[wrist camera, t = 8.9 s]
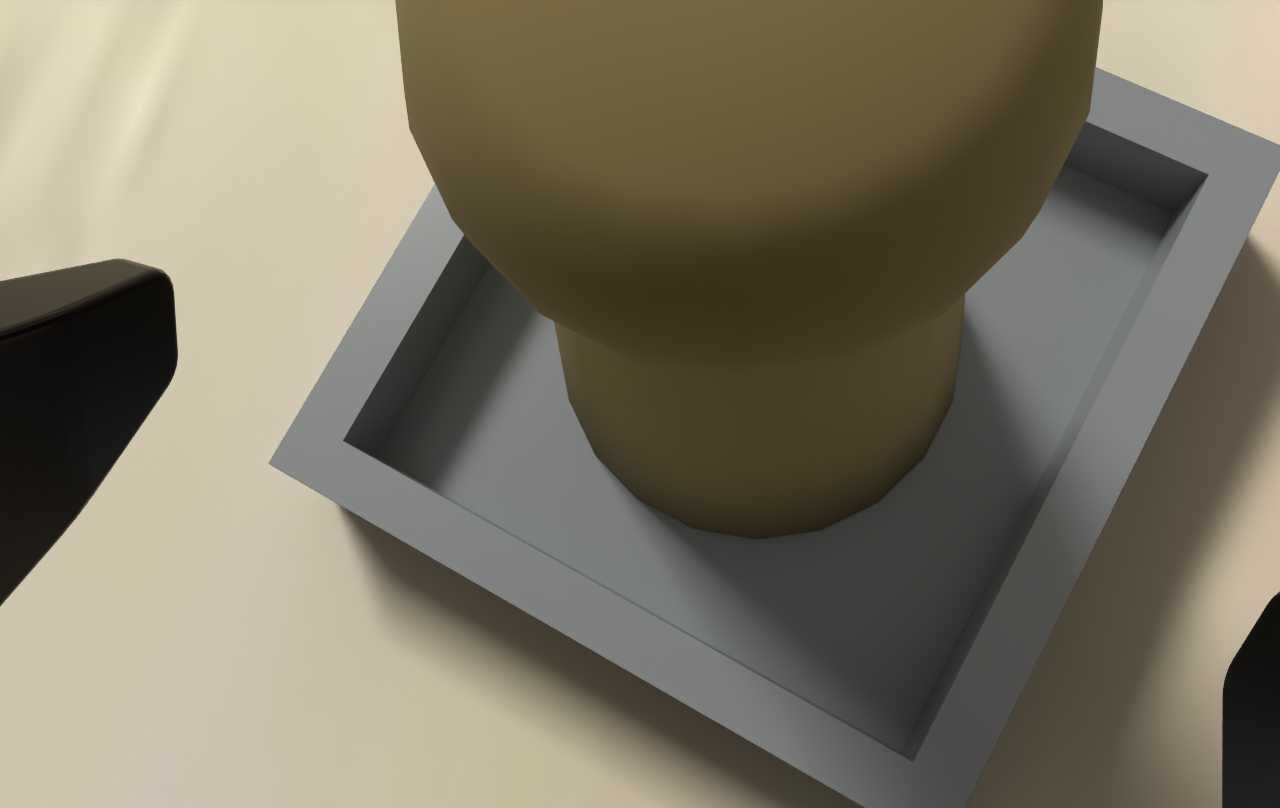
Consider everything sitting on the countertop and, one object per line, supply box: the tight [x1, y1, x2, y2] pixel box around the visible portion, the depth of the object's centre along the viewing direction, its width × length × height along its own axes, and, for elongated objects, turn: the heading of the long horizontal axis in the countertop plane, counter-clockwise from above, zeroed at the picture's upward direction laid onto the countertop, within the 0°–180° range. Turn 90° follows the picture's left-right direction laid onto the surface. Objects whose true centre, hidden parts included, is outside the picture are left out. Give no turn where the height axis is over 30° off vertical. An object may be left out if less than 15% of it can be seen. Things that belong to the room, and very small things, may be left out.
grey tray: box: [268, 67, 1280, 808], centre depth 18 cm, size 10×10×2 cm
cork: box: [395, 0, 1103, 540], centre depth 13 cm, size 6×6×11 cm
